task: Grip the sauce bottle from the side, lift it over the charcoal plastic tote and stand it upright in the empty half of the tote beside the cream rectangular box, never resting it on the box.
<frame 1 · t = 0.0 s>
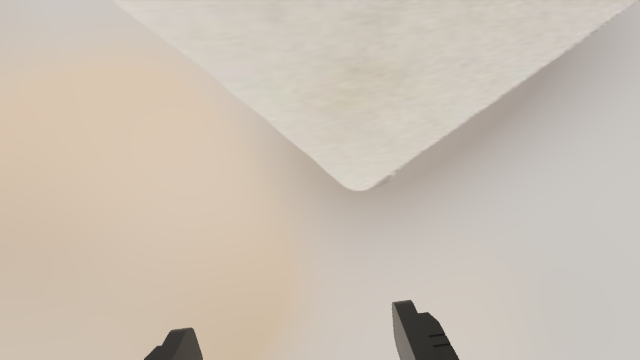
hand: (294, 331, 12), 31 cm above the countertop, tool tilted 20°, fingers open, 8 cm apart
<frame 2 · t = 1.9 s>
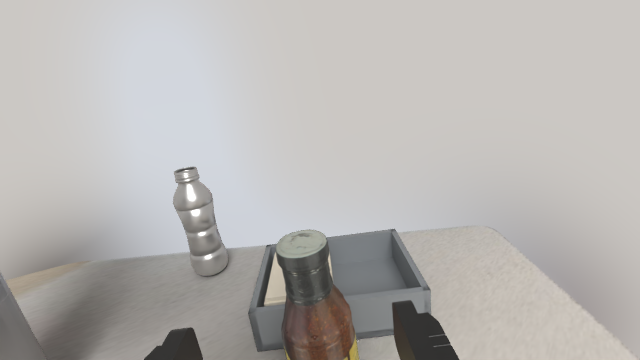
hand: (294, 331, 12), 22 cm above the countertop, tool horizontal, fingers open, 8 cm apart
cream rectangular box: (304, 296, 45), point 1 cm above the countertop, touching tote
tote: (338, 297, 45), on the countertop
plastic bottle: (213, 271, 57), on the countertop
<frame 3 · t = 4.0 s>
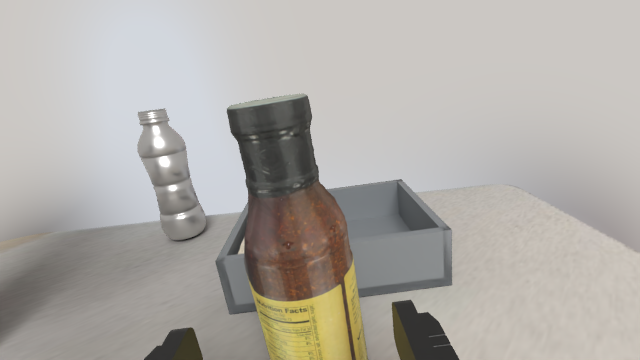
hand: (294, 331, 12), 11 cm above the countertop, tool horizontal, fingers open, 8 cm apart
tote: (334, 256, 37), on the countertop
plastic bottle: (188, 236, 49), on the countertop
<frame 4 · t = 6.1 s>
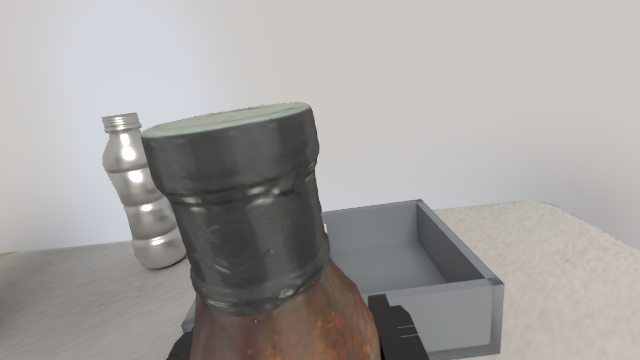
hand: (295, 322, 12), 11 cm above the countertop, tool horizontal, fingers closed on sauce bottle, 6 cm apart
tote: (340, 298, 30), on the countertop
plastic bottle: (167, 262, 41), on the countertop
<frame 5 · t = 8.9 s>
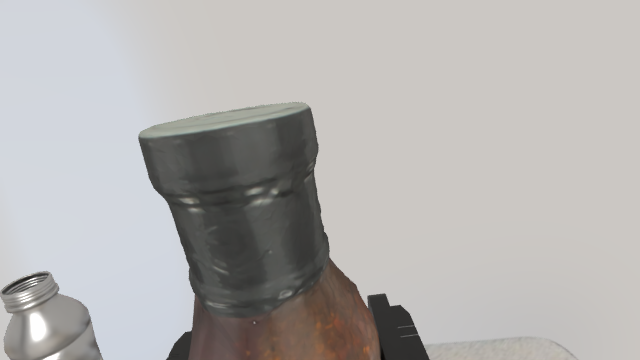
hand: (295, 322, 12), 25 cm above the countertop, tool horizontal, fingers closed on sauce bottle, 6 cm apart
when the fingers open (13 cm above the countertop, at t = 12.2 s): sauce bottle drops 1 cm, resting on tote.
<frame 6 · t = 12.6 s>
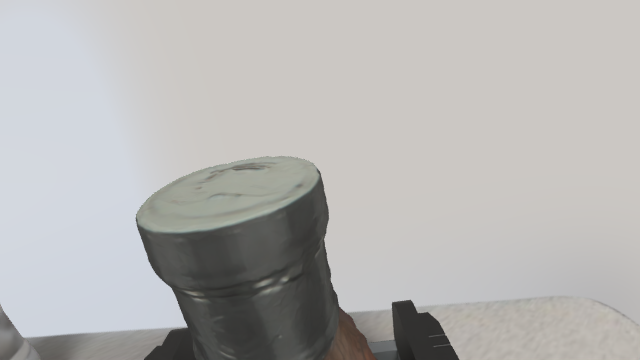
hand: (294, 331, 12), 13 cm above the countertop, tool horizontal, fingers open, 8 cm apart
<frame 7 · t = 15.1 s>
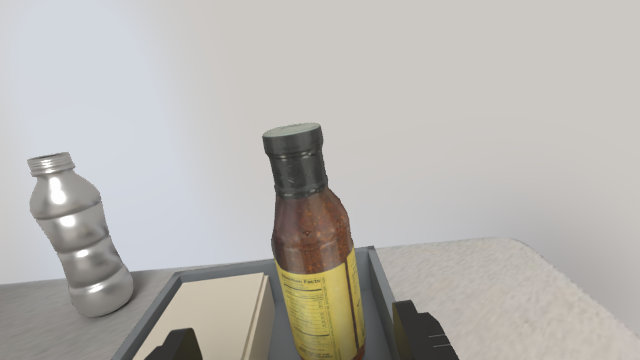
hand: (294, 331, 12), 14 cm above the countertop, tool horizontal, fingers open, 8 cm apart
sauce bottle: (331, 352, 27), point 1 cm above the countertop, touching tote
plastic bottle: (110, 307, 39), on the countertop
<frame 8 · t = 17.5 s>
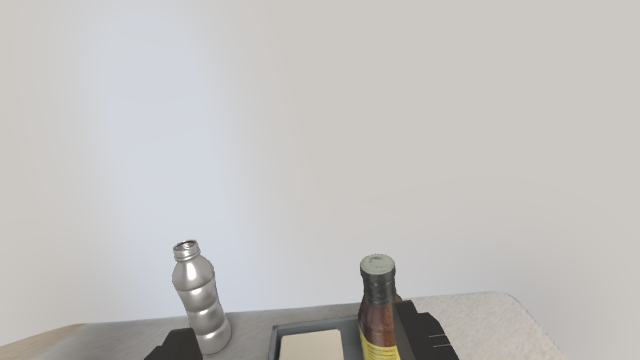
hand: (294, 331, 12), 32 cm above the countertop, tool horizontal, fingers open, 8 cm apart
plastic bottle: (215, 345, 53), on the countertop
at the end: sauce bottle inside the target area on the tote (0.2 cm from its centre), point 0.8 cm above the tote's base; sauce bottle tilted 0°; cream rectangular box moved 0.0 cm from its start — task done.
